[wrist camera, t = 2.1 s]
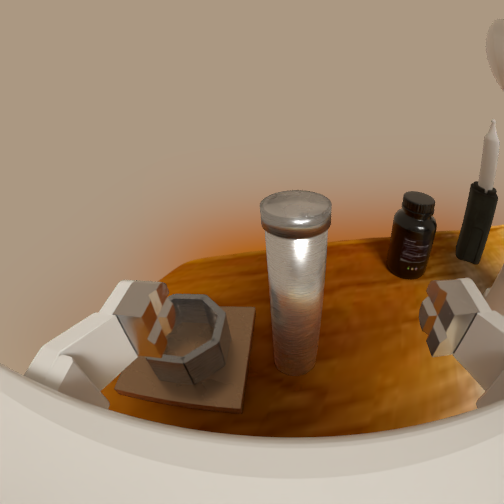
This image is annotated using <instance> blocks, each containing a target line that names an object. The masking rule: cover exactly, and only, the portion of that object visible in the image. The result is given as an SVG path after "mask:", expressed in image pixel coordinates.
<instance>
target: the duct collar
mask: <svg viewBox="0 0 504 504" xmlns="http://www.w3.org/2000/svg"><path fill="white" fill-rule="evenodd" d="M167 298H168V299H169V300H170V301H171V302H172V303H173V305H174V308H175V325H174V327H173V330H172V332H171V333H169V334H168V335H167V336H165V337H166V339H167V342H168V343H167V345H166V348H165V350H164V353H163V355H162V358H154V357H146V356H138V355H137V356H138V357H137V358H136V359H135V360H134V361H133V362H132V363H131V364H130V365H129V366H127V367H126V368H125V369H124V370H123V371H122V372H121V374H120V377H119V379H118V381H117V384H116V386H115V388H114V389H115V390H116V391H117V392H118V394H121V395H125V396H129V397H133V398H138V399H142V400H147V401H152V402H157V403H162V404H168V405H174V406H180V407H186V408H193V409H201V410H209V411H218V412H229V413H242V410H243V403H244V396H245V389H246V382H247V375H248V367H249V360H250V353H251V346H252V338H253V331H254V324H255V316H256V311H255V307H219V306H218V305H217V304H216V303H215V302H214V301H212V300H211V299H210V298H209V297H208V296H207V295H201V294H175V295H174V294H173V295H171V296H169V297H167Z"/></svg>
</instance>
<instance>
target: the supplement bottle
mask: <svg viewBox="0 0 504 504" xmlns="http://www.w3.org/2000/svg"><path fill="white" fill-rule="evenodd" d="M434 206H435V200H434V199H433V198H432V197H431V196H429V195H427V194H424V193H420V192H414V191H411V192H406V193H405V194H404V197H403V202H402V209H400V210H398V211H397V213H396V214H395V216H394V220H393V227H392V233H391V239H390V245H389V250H388V256H387V266H388V268H389V270H390V271H391V272H392V273H393V274H395V275H396V276H398V277H400V278H404V279H417V278H419V277H421V276H422V275H423V274H424V272H425V270H426V267H427V264H428V260H429V257H430V253H431V249H432V245H433V241H434V237H435V233H436V227H437V224H436V221H435V219H434V217H433V216H432V215H433V214H434Z"/></svg>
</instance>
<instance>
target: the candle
mask: <svg viewBox="0 0 504 504" xmlns="http://www.w3.org/2000/svg"><path fill="white" fill-rule="evenodd" d="M491 122H492V124H491V127H490V130H489V132H488V134H487V135H486V136H485V137H484V146H483V154H482V162H481V169H480V175H479V181H478V182H474V183H472V184H471V187H470V192H469V197H468V202H467V207H466V211H465V215H464V220H463V224H462V228H461V231H460V235H459V239H458V242H457V246H456V256H457V257H458V258H459V259H461V260H465V261H469V262H472V263H473V264H478V263H479V261H480V259H481V256H482V253H483V250H484V247H485V244H486V241H487V238H488V234H489V231H490V228H491V224H492V220H493V217H494V213H495V209H496V205H497V201H498V197H497V194H496V189H495V188H493V184H494V178H495V173H496V167H497V161H498V153H499V145H500V142H499V139H498V136H497V132H496V126H495V123H496V121H495V120H494V119H493V120H492V121H491Z"/></svg>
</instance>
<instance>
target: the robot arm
mask: <svg viewBox="0 0 504 504" xmlns="http://www.w3.org/2000/svg"><path fill="white" fill-rule="evenodd" d="M486 53H487V58H488V62H489V65H490V68H491V71H492V73H493V75H494V77H495V79H496V81H497V82H498V84H499V85H500V87H501V89H502V90H503V91H504V19H497V20H495V21H494V22H493V23H492V25H491V26H490V28H489V31H488V34H487V38H486ZM168 294H169V291H168V288H167V285H166V284H165V283H163V282H152V281H137V280H136V281H134V280H122V281H120V282H119V283H118V285H117V286H116V288H115V289H114V291H113V292H112V293H111V295H110V296H109V298H108V299H107V301H106V302H105V304H104V305H103V307H102V308H101V310H100V311H99V313H93V314H92V315H90V316H89V317H87V318H85V319H84V320H83V321H81V322H79V323H78V324H76V325H74V326H73V327H71V328H70V329H68V330H67V331H65V332H63V333H62V334H60V335H59V336H57V337H56V338H54V339H53V340H51V341H49V342H48V343H46V344H45V345H43V346H42V347H41V349H40V350H39V352H38V353H37V355H36V356H35V358H34V360H33V361H32V363H31V365H30V366H29V368H28V370H27V371H26V373H25V375H24V376H23V375H21V374H19V373H18V372H16V371H14V370H12V369H10V368H8V367H6V366H5V365H3V364H1V363H0V504H504V264H503V266H502V268H501V270H500V272H499V274H498V276H497V278H496V280H495V282H494V283H493V285H492V287H491V288H487V289H486V290H485V292H484V294H483V296H482V294H481V293H480V291H479V289H478V288H477V286H476V285H475V283H474V282H473V280H471V279H470V278H460V279H451V280H435V281H431V282H430V284H429V285H428V288H427V294H428V297H427V298H426V299H425V300H424V301H423V302H422V304H421V307H420V311H419V321H420V325H421V328H422V331H424V332H425V333H426V334H427V335H428V337H427V340H426V342H427V344H428V347H429V350H430V353H431V355H432V357H437V356H444V355H451V354H453V356H454V357H455V358H456V359H457V360H458V361H459V362H460V363H461V365H462V366H463V367H464V368H465V369H466V370H467V371H468V372H469V373H470V374H471V375H472V377H473V378H474V379H475V380H476V381H477V382H478V383H479V384H480V385H481V387H482V388H483V389H484V390H485V393H484V394H483V395H482V396H481V397H480V398H479V399H478V400H477V402H476V405H477V408H478V409H475V410H472V411H469V412H465V413H462V414H459V415H455V416H452V417H448V418H445V419H441V420H437V421H433V422H429V423H424V424H420V425H415V426H410V427H405V428H399V429H393V430H387V431H380V432H373V433H365V434H355V435H344V436H330V437H260V436H245V435H233V434H224V433H215V432H208V431H201V430H194V429H188V428H182V427H177V426H172V425H167V424H162V423H157V422H153V421H149V420H144V419H140V418H136V417H133V416H129V415H125V414H122V413H118V412H115V411H112V410H108V407H109V405H110V404H109V401H108V400H107V399H106V398H105V397H104V396H103V394H102V393H101V392H100V391H101V390H102V389H103V388H104V387H106V386H107V385H108V384H109V383H110V382H111V381H112V380H113V379H114V378H115V377H116V376H118V375H119V374H120V373H121V372H122V371H123V370H124V369H125V368H126V367H127V366H129V365H130V364H131V363H132V362H133V361H134V360H135V359H136V358H137V357H138V356H146V357H154V358H162V355H163V353H164V350H165V348H166V345H167V343H168V342H167V339H166V337H165V336H167V335H168V334H169V333H171V332H172V330H173V327H174V325H175V308H174V305H173V303H172V302H171V301H170V300H169V299H168V298H167V296H168ZM137 355H138V356H137Z"/></svg>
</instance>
